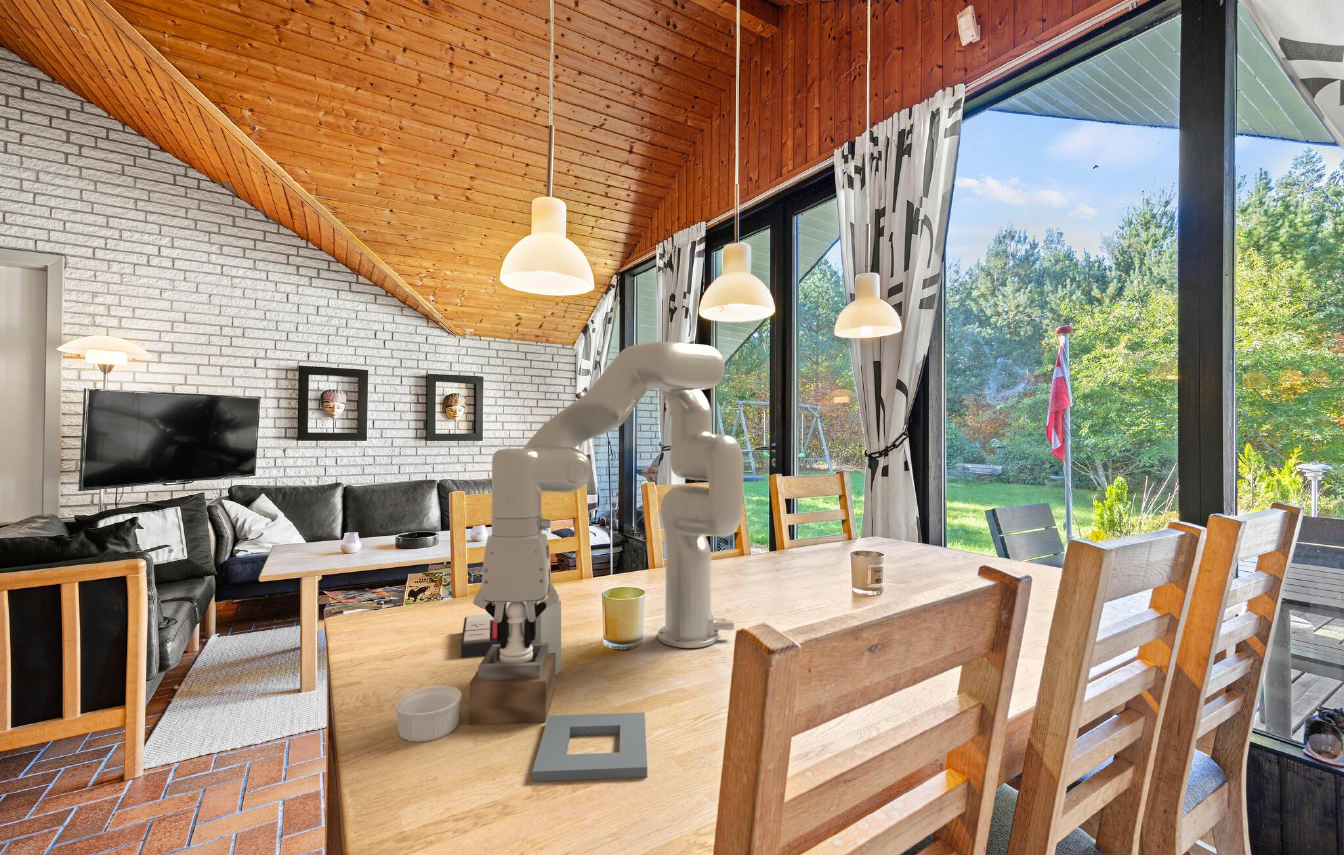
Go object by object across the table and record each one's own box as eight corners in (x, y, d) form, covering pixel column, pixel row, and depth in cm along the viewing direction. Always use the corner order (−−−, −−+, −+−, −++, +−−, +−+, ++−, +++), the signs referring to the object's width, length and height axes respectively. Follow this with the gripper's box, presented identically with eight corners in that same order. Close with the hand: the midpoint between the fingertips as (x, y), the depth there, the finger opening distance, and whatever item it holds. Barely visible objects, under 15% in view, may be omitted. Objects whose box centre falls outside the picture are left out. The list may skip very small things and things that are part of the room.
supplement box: (562, 670, 102) (563, 600, 103) (540, 688, 95) (540, 612, 96) (527, 665, 105) (527, 596, 105) (502, 681, 98) (503, 607, 98)
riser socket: (555, 689, 95) (555, 640, 95) (545, 722, 84) (545, 667, 84) (487, 691, 94) (488, 642, 94) (469, 724, 83) (469, 669, 83)
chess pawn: (537, 660, 88) (537, 602, 89) (505, 667, 86) (505, 607, 86) (526, 650, 93) (527, 594, 93) (495, 656, 90) (495, 599, 90)
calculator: (460, 640, 108) (464, 613, 122) (460, 663, 108) (464, 632, 123) (520, 635, 111) (517, 608, 126) (520, 656, 111) (517, 628, 126)
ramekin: (420, 752, 76) (420, 719, 76) (381, 733, 81) (381, 702, 81) (474, 724, 84) (475, 694, 84) (436, 708, 88) (436, 680, 88)
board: (644, 720, 85) (644, 712, 85) (647, 776, 71) (647, 766, 71) (548, 723, 83) (548, 715, 84) (532, 781, 70) (532, 771, 70)
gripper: (571, 523, 94) (571, 635, 94) (470, 524, 93) (469, 638, 92) (566, 530, 86) (566, 652, 86) (456, 532, 85) (455, 656, 85)
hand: (516, 643), depth 89 cm, fingers closed on chess pawn, 3 cm apart
